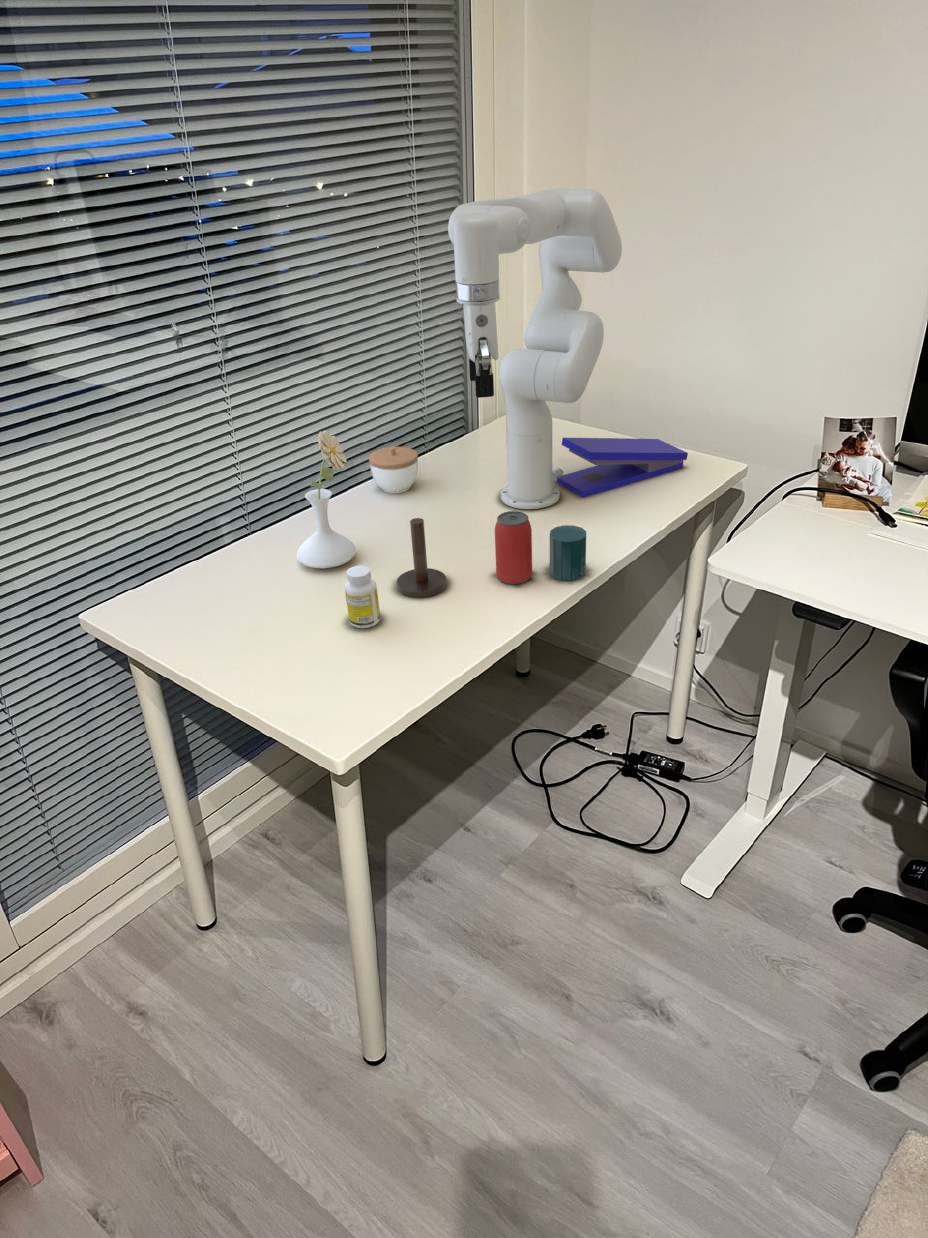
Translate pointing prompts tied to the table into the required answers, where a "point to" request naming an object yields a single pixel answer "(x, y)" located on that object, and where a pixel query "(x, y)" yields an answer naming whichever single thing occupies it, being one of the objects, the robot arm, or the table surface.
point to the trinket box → (394, 468)
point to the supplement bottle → (361, 598)
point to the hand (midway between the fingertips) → (481, 388)
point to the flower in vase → (325, 515)
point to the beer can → (513, 547)
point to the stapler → (618, 462)
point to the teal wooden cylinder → (567, 552)
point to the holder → (420, 568)
